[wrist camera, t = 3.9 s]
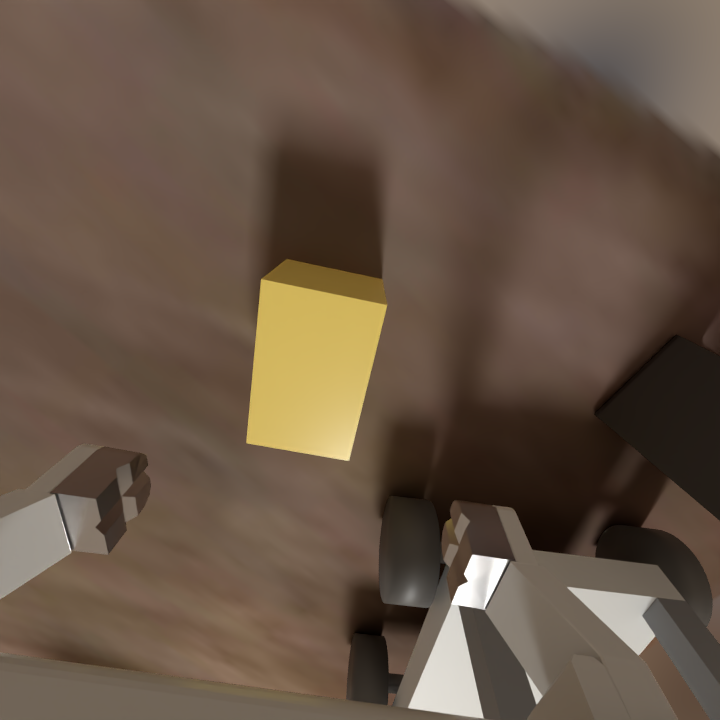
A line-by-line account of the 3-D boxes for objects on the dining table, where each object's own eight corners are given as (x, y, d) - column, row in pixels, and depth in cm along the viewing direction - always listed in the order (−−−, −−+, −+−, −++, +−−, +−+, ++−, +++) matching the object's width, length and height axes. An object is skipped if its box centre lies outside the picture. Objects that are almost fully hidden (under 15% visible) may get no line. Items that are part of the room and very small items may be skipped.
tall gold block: (271, 391, 22) (246, 443, 17) (287, 258, 18) (261, 278, 14) (352, 406, 22) (348, 460, 17) (382, 278, 19) (387, 305, 14)
